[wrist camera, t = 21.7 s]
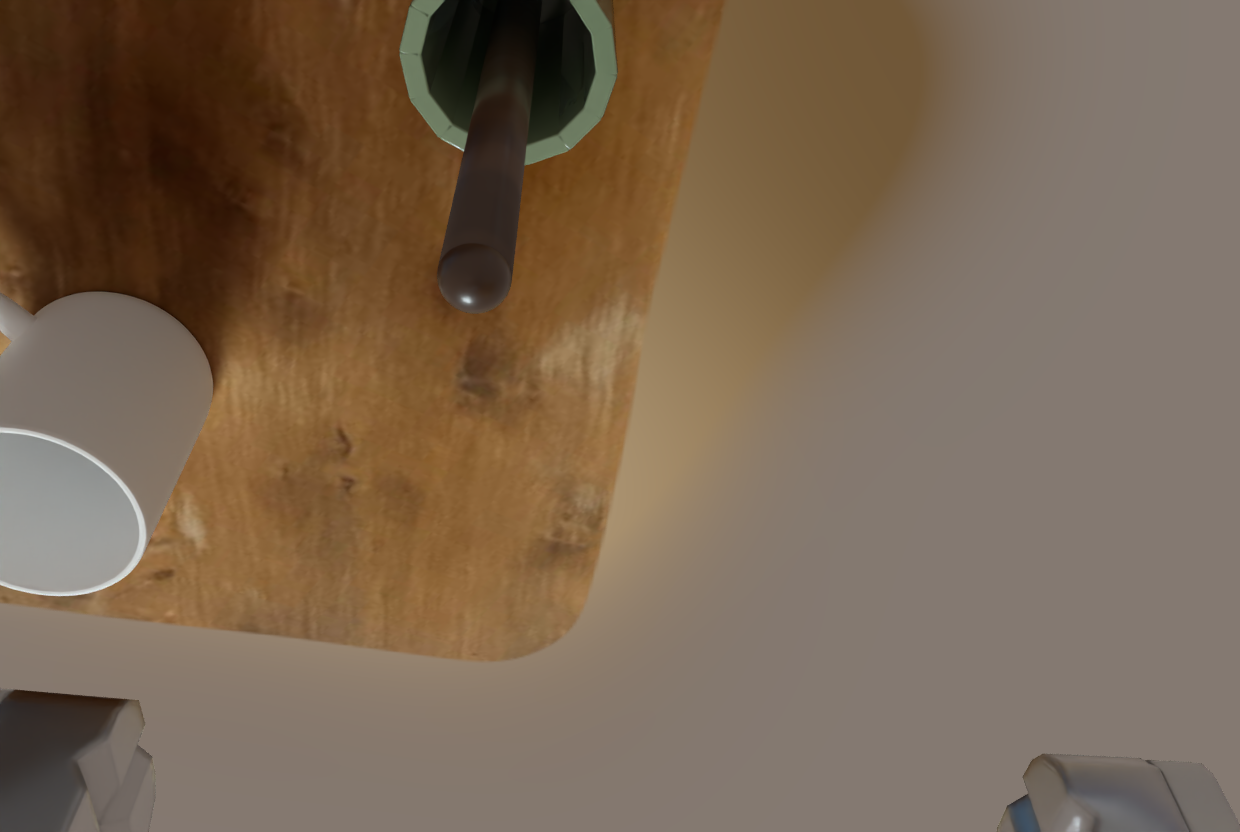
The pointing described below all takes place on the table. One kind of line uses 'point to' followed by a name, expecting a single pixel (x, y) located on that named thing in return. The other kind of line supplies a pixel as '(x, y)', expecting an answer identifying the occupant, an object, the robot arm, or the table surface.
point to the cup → (91, 436)
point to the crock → (563, 81)
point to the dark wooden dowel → (492, 166)
